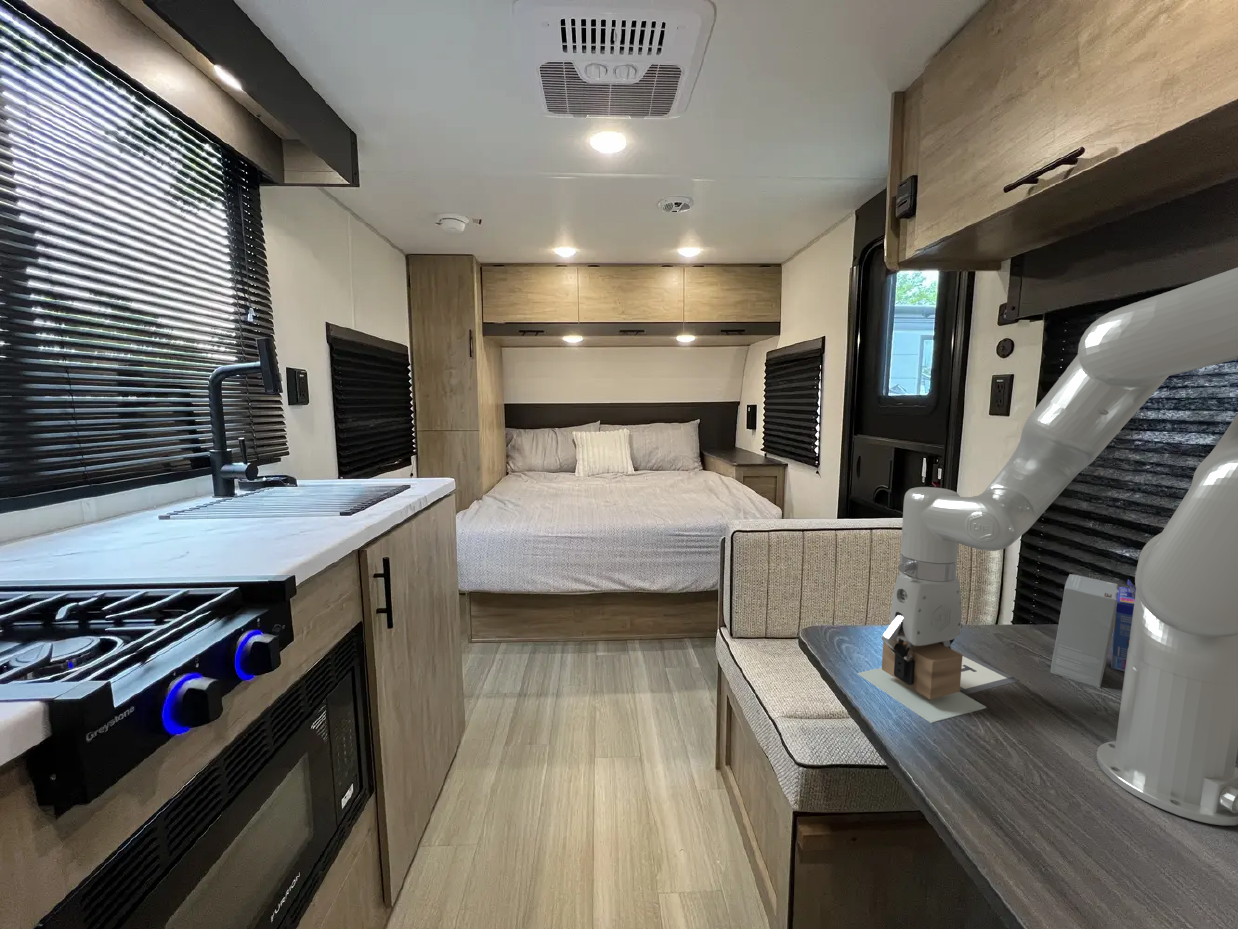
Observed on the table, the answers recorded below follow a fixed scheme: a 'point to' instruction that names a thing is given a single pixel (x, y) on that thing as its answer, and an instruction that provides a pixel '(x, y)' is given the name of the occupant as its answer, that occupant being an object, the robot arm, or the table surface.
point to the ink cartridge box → (1122, 626)
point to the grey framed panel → (980, 675)
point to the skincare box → (1085, 629)
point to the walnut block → (930, 669)
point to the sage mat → (922, 698)
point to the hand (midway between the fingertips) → (919, 675)
